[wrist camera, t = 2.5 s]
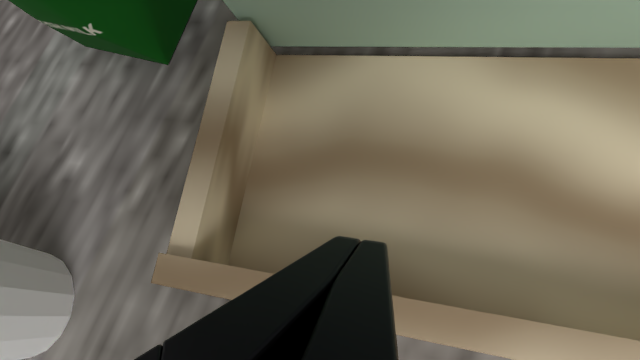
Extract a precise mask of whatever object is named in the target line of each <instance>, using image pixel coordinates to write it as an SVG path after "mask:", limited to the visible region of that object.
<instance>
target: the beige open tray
mask: <svg viewBox="0 0 640 360" xmlns="http://www.w3.org/2000/svg"><path fill="white" fill-rule="evenodd" d="M336 236H344V237H351V238H357V239H359V240H360V241H363V240H372V241H379V242H384V243H386V245H387V248H388V258H389V268H390V279H391V289H392V299H393V309H394V319H395V329H396V335H400V336H405V337H409V338H414V339H419V340H423V341H428V342H433V343H438V344H442V345H447V346H452V347H457V348H461V349H466V350H471V351H476V352H480V353H485V354H490V355H494V356H499V357H504V358H509V359H513V360H640V59H639V58H539V57H439V56H340V55H276V54H275V52H274V51H273V50H272V48H271V47H270V46H269V44H268V43H267V42H266V40H265V39H264V38H263V37H262V35H261V34H260V33H259V31H258V30H257V29H256V27H255V26H254V25H253V23H252V22H251V21H227V24H226V28H225V32H224V36H223V40H222V43H221V47H220V51H219V55H218V59H217V63H216V66H215V70H214V74H213V78H212V82H211V86H210V89H209V93H208V97H207V101H206V105H205V108H204V112H203V116H202V120H201V124H200V128H199V131H198V135H197V139H196V143H195V147H194V151H193V154H192V158H191V162H190V166H189V170H188V174H187V177H186V181H185V185H184V189H183V193H182V197H181V200H180V204H179V208H178V212H177V216H176V219H175V223H174V227H173V231H172V235H171V239H170V242H169V246H168V250H167V254H163V253H159V254H158V258H157V262H156V265H155V269H154V273H153V277H152V281H151V283H154V284H158V285H163V286H168V287H173V288H177V289H182V290H187V291H191V292H196V293H201V294H206V295H210V296H215V297H220V298H225V299H229V300H233V299H234V298H236V297H238V296H239V295H241V294H242V293H244V292H246V291H247V290H249V289H251V288H252V287H254V286H256V285H257V284H259V283H260V282H262V281H264V280H265V279H267V278H269V277H270V276H272V275H274V274H275V273H277V272H278V271H280V270H282V269H283V268H285V267H287V266H288V265H290V264H291V263H293V262H295V261H296V260H298V259H300V258H301V257H303V256H305V255H306V254H308V253H309V252H311V251H313V250H314V249H316V248H318V247H319V246H321V245H323V244H324V243H326V242H327V241H329V240H331V239H332V238H334V237H336Z"/></svg>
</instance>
